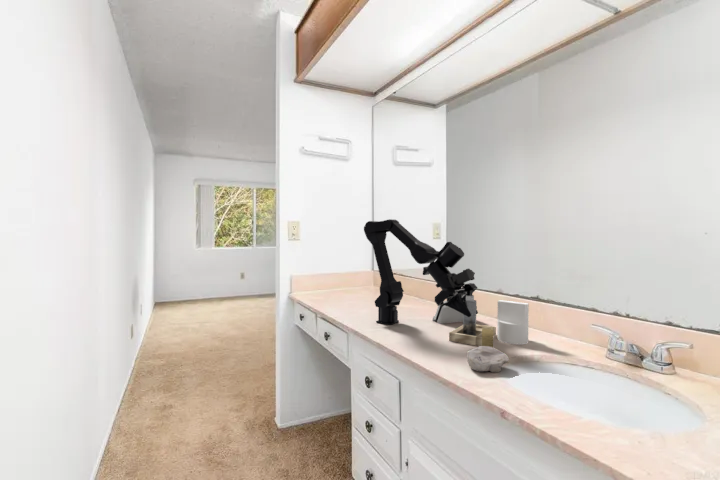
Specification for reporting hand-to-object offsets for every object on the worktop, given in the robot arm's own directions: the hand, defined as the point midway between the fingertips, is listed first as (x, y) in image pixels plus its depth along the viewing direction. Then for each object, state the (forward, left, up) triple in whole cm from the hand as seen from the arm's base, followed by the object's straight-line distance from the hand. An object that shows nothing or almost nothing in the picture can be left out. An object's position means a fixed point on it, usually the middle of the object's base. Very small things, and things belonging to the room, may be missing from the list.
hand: (473, 315), depth 113 cm
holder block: (-1, +4, -8) cm, 9 cm away
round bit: (-1, 0, -7) cm, 7 cm away
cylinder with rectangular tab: (+10, +8, -8) cm, 15 cm away
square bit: (+7, -9, -8) cm, 14 cm away
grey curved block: (-14, +22, -8) cm, 27 cm away
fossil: (+10, -21, -8) cm, 25 cm away
